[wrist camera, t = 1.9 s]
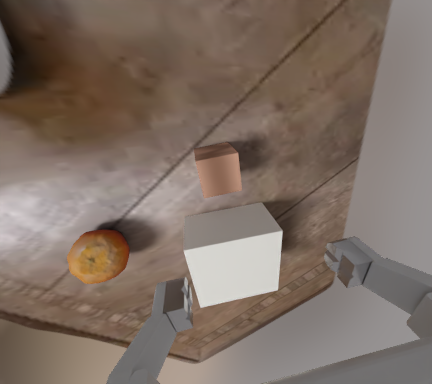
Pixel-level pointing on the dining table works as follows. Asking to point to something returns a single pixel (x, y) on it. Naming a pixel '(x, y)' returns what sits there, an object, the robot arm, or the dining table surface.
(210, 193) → the terracotta block
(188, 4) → the dining table surface
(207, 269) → the cream box
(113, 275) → the fruit
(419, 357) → the robot arm
